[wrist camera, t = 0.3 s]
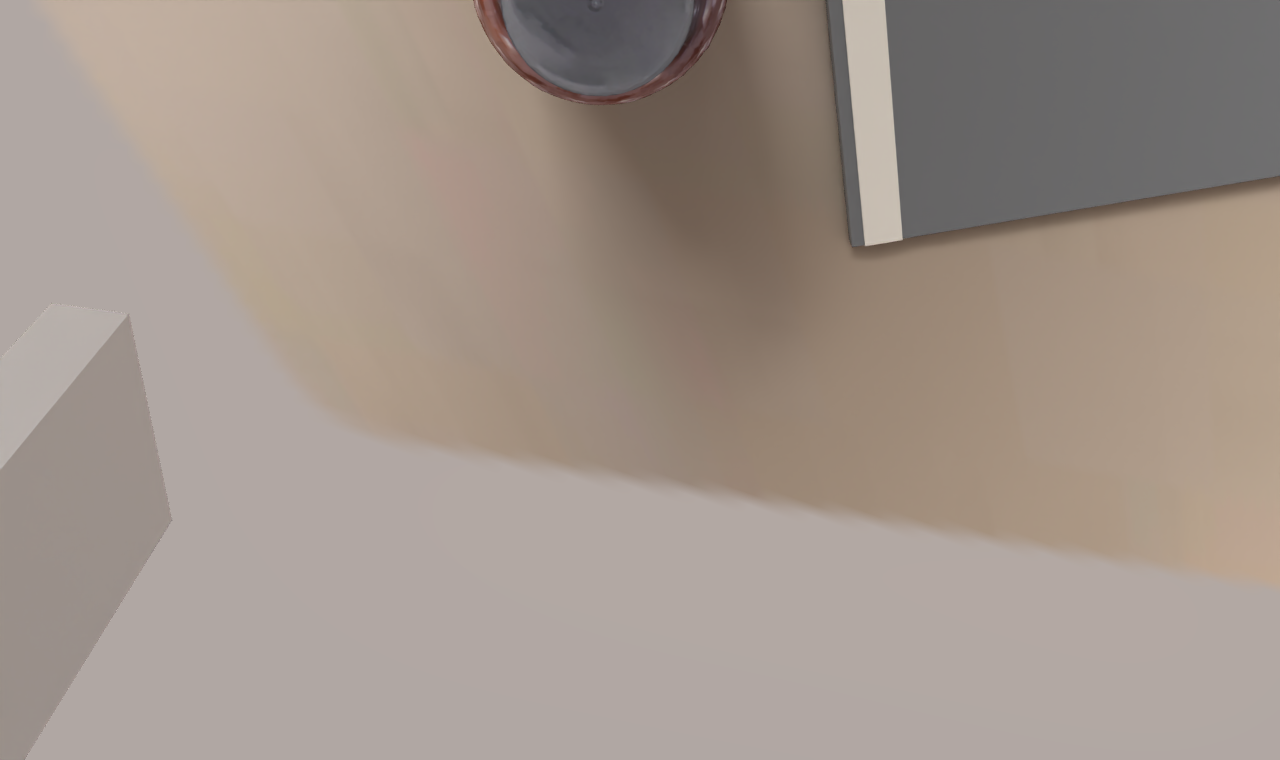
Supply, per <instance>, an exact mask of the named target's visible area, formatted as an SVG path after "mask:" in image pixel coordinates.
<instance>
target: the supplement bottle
mask: <svg viewBox="0 0 1280 760" xmlns="http://www.w3.org/2000/svg"><path fill="white" fill-rule="evenodd" d="M473 1H474V6H475V9H476V12H477V15H478V18H479V20H480V22H481V24H482V27H483V29H484V31H485V33H486V35H487V37H488V38H489V40H490V42H491V44H492V45H493V46H494V48H495V49H496V51H497V52H498V53H499V54H500V56H501V57H502V58H503V59H504V61H505V62H506V63H507V64H508V65H509V66H510V67H511V68H512V69H513V70H514V71H515V72H516V73H518V74H519V75H520V76H521V77H523V78H524V79H525V80H527V81H528V82H529V83H531V84H532V85H533V86H535V87H537V88H539V89H540V90H542V91H544V92H547V93H549V94H551V95H554V96H556V97H559V98H562V99H565V100H569V101H573V102H578V103H584V104H590V105H608V104H621V103H626V102H632V101H635V100H638V99H641V98H644V97H647V96H649V95H651V94H653V93H655V92H657V91H660V90H662V89H663V88H665V87H667V86H669V85H671V84H672V83H673V82H674V81H676V80H678V78H680V77H681V76H683V75H684V74H685V73H686V72H687V71H688V69H690V68H691V67H692V66H693V65H694V64H695V63H696V62H697V61H698V60H699V58H700V57H701V56H702V54H703V52H705V50H706V49H707V48H708V47H709V45H710V43H711V41H712V39H713V37H714V35H715V33H716V31H717V29H718V27H719V25H720V23H721V19H722V16H723V13H724V11H725V8H726V2H727V0H473Z"/></svg>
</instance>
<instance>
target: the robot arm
mask: <svg viewBox="0 0 1280 760" xmlns="http://www.w3.org/2000/svg"><path fill="white" fill-rule="evenodd" d="M171 521H172V518H171V513H170V508H169V503H168V498H167V494H166V489H165V484H164V479H163V475H162V470H161V465H160V460H159V456H158V450H157V446H156V441H155V436H154V431H153V426H152V422H151V417H150V412H149V407H148V402H147V398H146V393H145V389H144V383H143V378H142V374H141V369H140V364H139V359H138V355H137V350H136V345H135V340H134V335H133V331H132V326H131V321H130V316H129V314H127V313H120V312H112V311H105V310H98V309H91V308H84V307H76V306H69V305H62V304H54V303H51V304H50V305H49V307H47V309H46V310H45V311H44V312H43V313H42V314H41V315H40V316H39V317H38V318H37V319H36V320H35V321H34V323H33V324H32V325H31V326H30V327H29V328H28V329H27V330H26V331H25V332H24V333H23V334H22V335H21V336H20V338H19V339H18V340H17V341H16V342H15V343H14V344H13V345H12V346H11V347H10V348H9V349H8V351H7V352H6V353H5V354H4V355H3V356H2V357H1V358H0V760H25V758H26V757H27V755H28V753H29V752H30V750H31V748H32V747H33V745H34V744H35V742H36V740H37V739H38V737H39V735H40V734H41V732H42V731H43V729H44V727H45V726H46V724H47V722H48V721H49V719H50V718H51V716H52V714H53V713H54V711H55V709H56V708H57V706H58V705H59V703H60V701H61V700H62V698H63V696H64V695H65V693H66V692H67V690H68V688H69V687H70V685H71V683H72V682H73V680H74V679H75V677H76V675H77V674H78V672H79V670H80V669H81V667H82V665H83V664H84V662H85V661H86V659H87V657H88V656H89V654H90V653H91V651H92V649H93V648H94V646H95V644H96V643H97V641H98V640H99V638H100V636H101V634H102V633H103V631H104V630H105V628H106V626H107V625H108V623H109V622H110V620H111V618H112V617H113V615H114V614H115V612H116V610H117V609H118V607H119V605H120V603H121V602H122V601H123V599H124V597H125V596H126V594H127V592H128V591H129V589H130V588H131V586H132V584H133V583H134V581H135V579H136V578H137V576H138V575H139V573H140V571H141V570H142V568H143V566H144V564H145V563H146V562H147V560H148V558H149V557H150V555H151V553H152V552H153V550H154V549H155V547H156V545H157V544H158V542H159V541H160V539H161V537H162V535H163V534H164V532H165V530H166V529H167V528H168V526H169V524H170V522H171Z"/></svg>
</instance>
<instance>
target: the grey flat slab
mask: <svg viewBox="0 0 1280 760" xmlns="http://www.w3.org/2000/svg"><path fill="white" fill-rule="evenodd" d="M826 10H827V20H828V30H829V40H830V50H831V60H832V70H833V80H834V90H835V100H836V111H837V121H838V131H839V141H840V151H841V161H842V171H843V181H844V191H845V201H846V212H847V222H848V232H849V240H850V243H851V245H852V247H856V246H862V245H865V246H870V245H876V244H882V243H888V242H894V241H900V240H903V239H904V238H910V237H916V236H922V235H928V234H934V233H940V232H946V231H952V230H958V229H964V228H970V227H976V226H982V225H988V224H994V223H1000V222H1006V221H1012V220H1018V219H1024V218H1030V217H1036V216H1042V215H1048V214H1054V213H1060V212H1066V211H1072V210H1078V209H1084V208H1090V207H1096V206H1102V205H1108V204H1114V203H1120V202H1126V201H1132V200H1138V199H1144V198H1150V197H1156V196H1162V195H1168V194H1174V193H1180V192H1186V191H1192V190H1198V189H1204V188H1210V187H1216V186H1222V185H1228V184H1234V183H1240V182H1246V181H1252V180H1258V179H1264V178H1270V177H1276V176H1280V0H826Z"/></svg>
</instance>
